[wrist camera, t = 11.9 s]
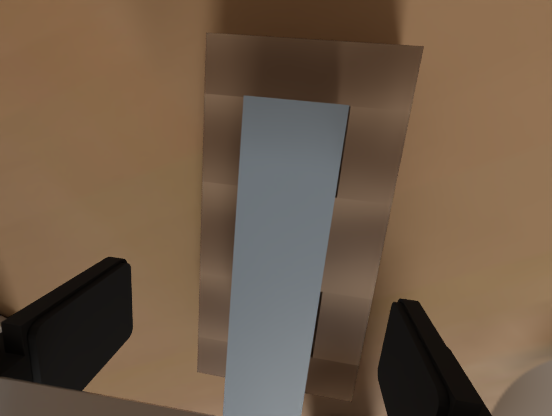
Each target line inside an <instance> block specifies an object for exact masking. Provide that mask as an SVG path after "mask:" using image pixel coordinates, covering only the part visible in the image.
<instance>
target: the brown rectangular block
mask: <svg viewBox="0 0 552 416" xmlns="http://www.w3.org/2000/svg"><path fill="white" fill-rule="evenodd" d="M423 48H424V46H410V45H395V44H379V43H363V42H347V41H331V40H316V39H300V38H284V37H268V36H252V35H237V34H221V33H206V60H205V98H204V137H203V175H202V213H201V251H200V290H199V328H198V366H197V372H200V373H205V374H210V375H215V376H220V377H225V376H226V361H227V345H228V330H229V314H230V299H231V284H232V268H233V253H234V238H235V222H236V207H237V191H238V176H239V161H240V145H241V130H242V114H243V99H244V95H245V96H255V97H266V98H277V99H288V100H298V101H309V102H320V103H331V104H341V105H349V111H348V118H347V124H346V130H345V137H344V143H343V150H342V156H341V163H340V169H339V175H338V182H337V188H336V195H335V201H334V207H333V214H332V220H331V227H330V233H329V240H328V246H327V252H326V259H325V265H324V272H323V278H322V284H321V291H320V297H319V304H318V310H317V316H316V323H315V329H314V336H313V342H312V349H311V355H310V361H309V368H308V374H307V381H306V387H305V393H308V394H313V395H318V396H323V397H328V398H333V399H338V400H344V401H349V402H352V397H353V393H354V388H355V383H356V378H357V373H358V368H359V363H360V358H361V353H362V348H363V343H364V338H365V333H366V329H367V324H368V319H369V314H370V309H371V304H372V299H373V294H374V289H375V284H376V279H377V274H378V269H379V264H380V260H381V255H382V250H383V245H384V240H385V235H386V230H387V225H388V220H389V215H390V210H391V205H392V200H393V196H394V191H395V186H396V181H397V176H398V171H399V166H400V161H401V156H402V151H403V146H404V141H405V136H406V132H407V127H408V122H409V117H410V112H411V107H412V102H413V97H414V92H415V87H416V82H417V77H418V72H419V68H420V63H421V58H422V53H423Z"/></svg>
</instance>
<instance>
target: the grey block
mask: <svg viewBox="0 0 552 416" xmlns="http://www.w3.org/2000/svg"><path fill="white" fill-rule="evenodd" d="M348 111H349V105H341V104H331V103H320V102H309V101H298V100H288V99H277V98H266V97H255V96H245V95H244V99H243V114H242V130H241V145H240V161H239V176H238V191H237V207H236V222H235V238H234V253H233V268H232V284H231V299H230V314H229V330H228V345H227V361H226V376H225V391H224V407H223V416H301V413H302V406H303V400H304V393H305V387H306V381H307V374H308V368H309V361H310V355H311V349H312V342H313V336H314V329H315V323H316V316H317V310H318V304H319V297H320V291H321V284H322V278H323V272H324V265H325V259H326V252H327V246H328V240H329V233H330V227H331V220H332V214H333V207H334V201H335V195H336V188H337V182H338V175H339V169H340V163H341V156H342V150H343V143H344V137H345V130H346V124H347V118H348Z"/></svg>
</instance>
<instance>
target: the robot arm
mask: <svg viewBox="0 0 552 416" xmlns="http://www.w3.org/2000/svg"><path fill="white" fill-rule="evenodd" d="M132 329H133V318H132V287H131V266H130V264H128V263H127V261H126V260H125V259H121V258H114V257H107V258H105V259H103V260H102V261H100V262H99V263H97V264H95V265H94V266H92V267H90V268H89V269H87V270H85V271H84V272H82V273H81V274H79V275H77V276H76V277H74V278H72V279H71V280H69V281H67V282H66V283H64V284H63V285H61V286H59V287H58V288H56V289H54V290H53V291H51V292H49V293H48V294H46V295H45V296H43V297H41V298H40V299H38V300H36V301H35V302H33V303H31V304H30V305H28V306H27V307H25V308H23V309H22V310H20V311H18V312H17V313H15V314H13V315H12V316H10V317H9V318H5V317H3V316H0V416H214V415H209V414H204V413H198V412H193V411H188V410H183V409H177V408H172V407H166V406H161V405H156V404H150V403H145V402H140V401H134V400H129V399H123V398H118V397H112V396H107V395H101V394H96V393H90V392H84V391H82V390H83V389H84V388H85V387H86V386H87V384H88V383H89V382H90V381H91V380H92V379H93V378H94V377H95V376H96V374H97V373H98V372H99V371H100V370H101V369H102V368H103V367H104V365H105V364H106V363H107V362H108V361H109V360H110V359H111V358H112V356H113V355H114V354H115V353H116V352H117V351H118V350H119V349H120V347H121V346H122V345H123V344H124V343H125V342H126V341H127V340H128V338H129V337H130V335H131V333H132ZM378 381H379V385H380V389H381V392H382V396H383V400H384V404H385V408H386V411H387V415H388V416H492V415H491V413H490V412H489V410H488V409H487V407H486V406H485V404H484V402H483V401H482V399H481V398H480V396H479V394H478V393H477V391H476V390H475V388H474V387H473V385H472V383H471V382H470V380H469V379H468V377H467V375H466V374H465V372H464V371H463V369H462V368H461V366H460V364H459V363H458V361H457V360H456V358H455V356H454V355H453V353H452V352H451V350H450V349H449V348H448V347H447V346H446V345H445V343H444V341H443V340H442V338H441V337H440V335H439V333H438V332H437V330H436V329H435V327H434V325H433V324H432V322H431V321H430V319H429V317H428V316H427V314H426V313H425V311H424V309H423V308H422V306H421V305H420V303H419V302H418V301H414V300H407V299H399V300H398V302H393V303H392V306H391V310H390V315H389V320H388V324H387V329H386V333H385V338H384V343H383V347H382V352H381V356H380V361H379V366H378Z"/></svg>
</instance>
